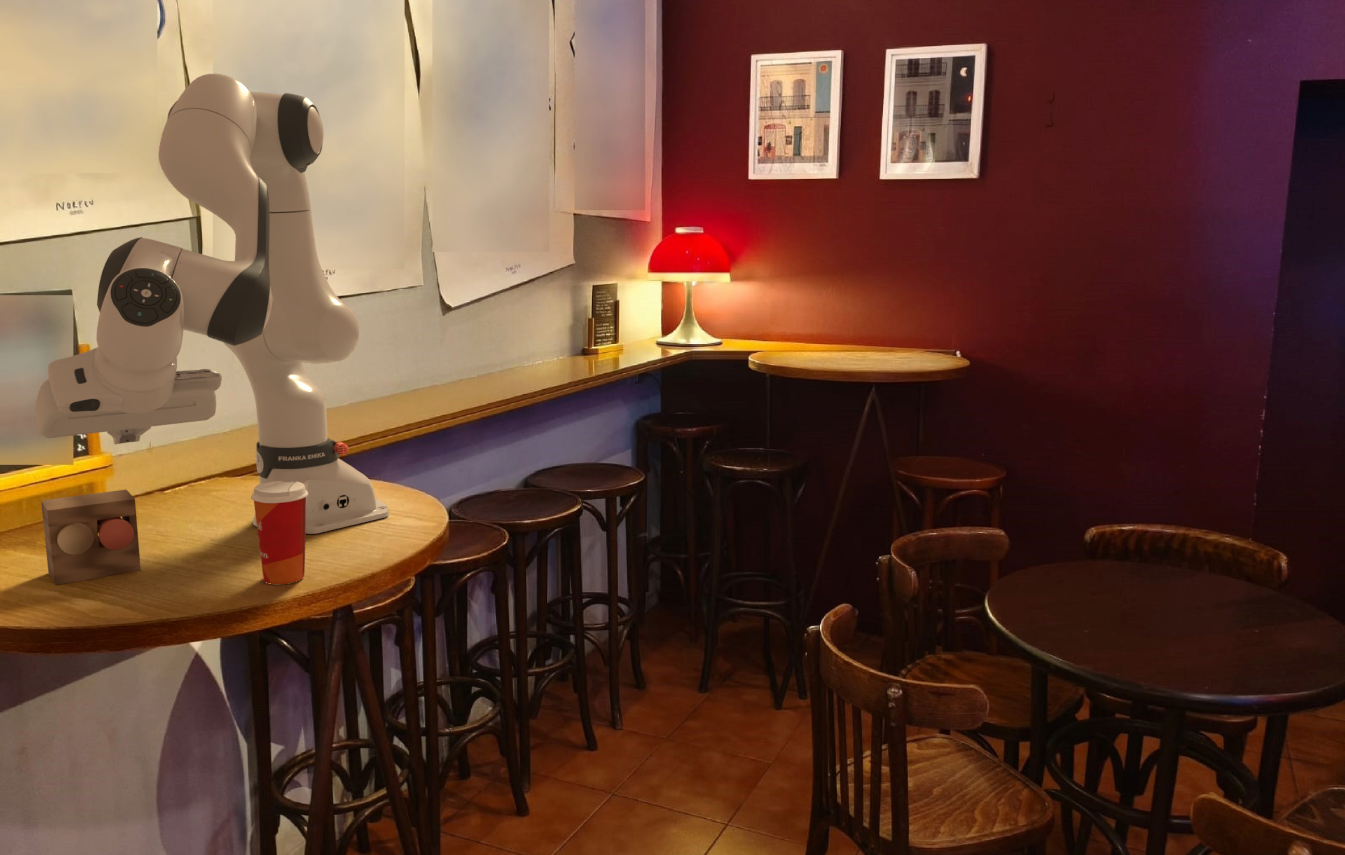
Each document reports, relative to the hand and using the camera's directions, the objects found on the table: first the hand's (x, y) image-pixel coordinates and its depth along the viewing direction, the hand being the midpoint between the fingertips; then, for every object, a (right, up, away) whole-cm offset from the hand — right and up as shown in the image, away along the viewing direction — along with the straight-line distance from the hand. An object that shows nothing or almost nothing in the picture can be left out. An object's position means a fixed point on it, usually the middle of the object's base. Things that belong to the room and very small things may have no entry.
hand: (125, 438), depth 132 cm
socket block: (-13, -20, +15) cm, 28 cm away
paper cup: (+15, -21, +15) cm, 30 cm away
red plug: (-11, -15, +16) cm, 25 cm away
